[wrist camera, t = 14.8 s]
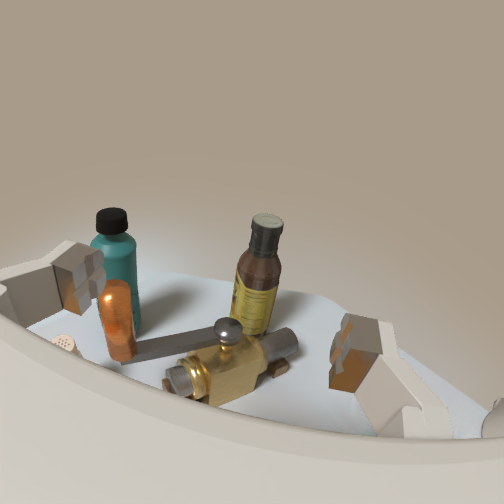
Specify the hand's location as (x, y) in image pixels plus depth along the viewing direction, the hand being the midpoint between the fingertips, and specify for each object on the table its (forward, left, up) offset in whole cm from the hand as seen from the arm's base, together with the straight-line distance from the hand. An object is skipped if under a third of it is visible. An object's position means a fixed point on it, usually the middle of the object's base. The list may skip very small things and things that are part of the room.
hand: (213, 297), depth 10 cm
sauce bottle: (+1, -30, -30) cm, 43 cm away
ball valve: (+1, -19, -30) cm, 36 cm away
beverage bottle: (+19, -22, -30) cm, 42 cm away
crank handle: (+7, -14, -20) cm, 26 cm away
